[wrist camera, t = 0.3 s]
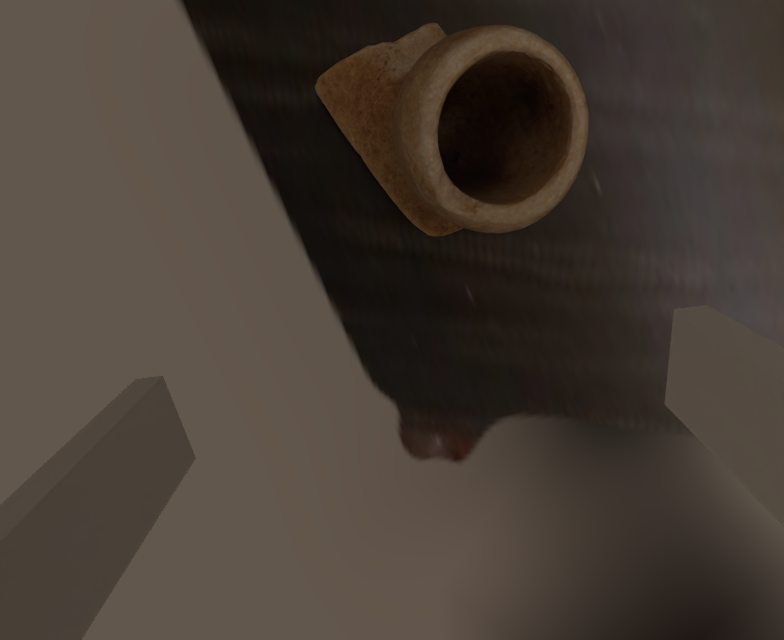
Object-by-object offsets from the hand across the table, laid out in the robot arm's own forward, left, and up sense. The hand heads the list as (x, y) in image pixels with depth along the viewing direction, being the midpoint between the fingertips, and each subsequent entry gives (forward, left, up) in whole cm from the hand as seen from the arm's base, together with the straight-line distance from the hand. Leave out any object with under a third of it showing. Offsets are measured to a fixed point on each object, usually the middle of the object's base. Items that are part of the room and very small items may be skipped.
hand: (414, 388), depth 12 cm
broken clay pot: (-6, +4, -28) cm, 29 cm away
